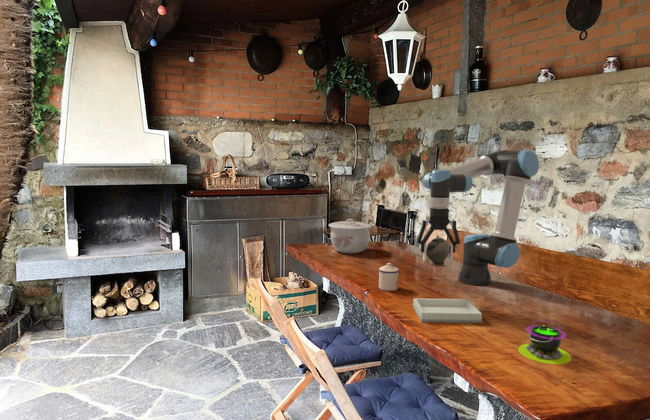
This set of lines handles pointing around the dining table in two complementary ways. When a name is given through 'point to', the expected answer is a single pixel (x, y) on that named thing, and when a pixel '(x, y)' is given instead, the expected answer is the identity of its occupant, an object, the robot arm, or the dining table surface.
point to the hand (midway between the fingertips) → (437, 260)
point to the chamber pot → (350, 236)
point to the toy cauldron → (545, 345)
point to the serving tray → (447, 310)
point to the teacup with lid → (388, 277)
